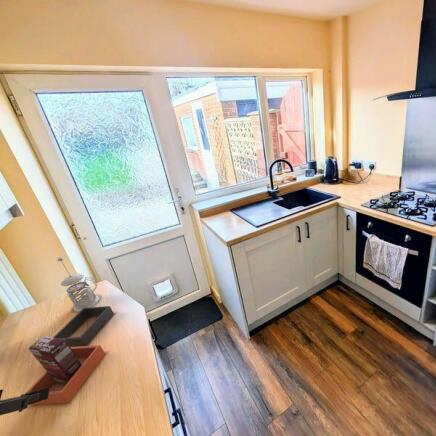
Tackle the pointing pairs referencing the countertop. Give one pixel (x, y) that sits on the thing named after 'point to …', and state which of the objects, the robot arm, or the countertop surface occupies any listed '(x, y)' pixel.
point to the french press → (86, 299)
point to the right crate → (91, 331)
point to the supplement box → (56, 358)
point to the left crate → (76, 381)
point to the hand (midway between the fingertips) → (24, 393)
